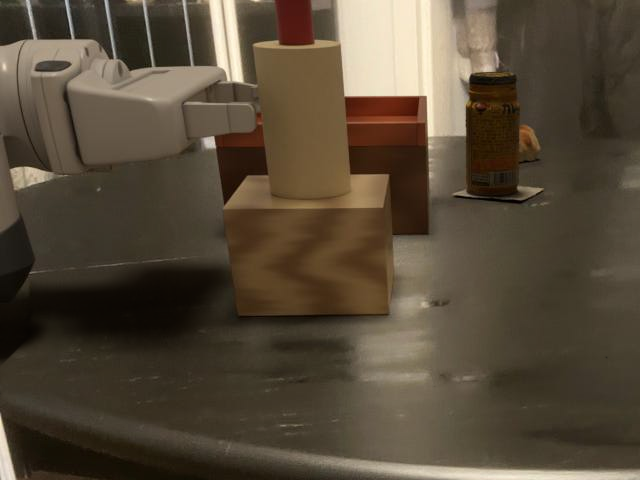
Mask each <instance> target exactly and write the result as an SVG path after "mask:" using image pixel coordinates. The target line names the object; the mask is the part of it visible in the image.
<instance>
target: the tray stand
mask: <svg viewBox="0 0 640 480" xmlns="http://www.w3.org/2000/svg"><path fill="white" fill-rule="evenodd" d="M344 96H345V109H346V123H347V136H348V150H349V164H350V175H373V174H389V177H390V196H391V216H392V235H428V234H429V233H430V202H431V201H430V200H431V199H430V198H431V197H430V196H431V192H430V188H431V187H430V161H429V160H430V158H429V123H428V121H429V120H428V96H427V95H354V96H353V95H344ZM257 120H258V125H257V127H256V128H255V130H253V131H252V132H251V133H229V134H223V135H217V136H213V138H214V145H215V146H214V147H215V152H216V159H217V164H218V172H219V179H220V185H221V186H220V187H221V194H222V200H223V207H224V206H225V205H226V203H227V202H228V201H229V199H230V198H231V197H232V195H233V194H234V193H235V191H236V190H237V189H238V187H239V186H240V185H241V184H242V182H243V181H244V180H245V178H246V177H247V176H261V175H268V168H267V160H266V152H265V143H264V135H263V126H262V118H261V113H257Z"/></svg>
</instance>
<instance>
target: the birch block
mask: <svg viewBox="0 0 640 480" xmlns="http://www.w3.org/2000/svg"><path fill="white" fill-rule="evenodd" d="M350 177H351V191H350V192H348V193H346V194H343V195H340V196H336V197H330V198H322V199H290V198H283V197H278V196H275V195H273V194H272V193H271V192H270V185H269V177H268V175H261V176H247V177H246V178H245V180H244V181H243V182H242V184H241V185H240V186H239V187H238V189H237V190H236V191H235V193H234V194H233V195H232V197H231V198H230V199H229V201H228V202H227V203H226V205H225V206H224V205H223V207H222V209H221V211H222V217H223V223H224V224H223V225H224V231H225V238H226V245H227V251H228V257H229V258H228V259H229V264H230V271H231V278H232V279H231V280H232V286H233V293H234V298H235V305H236V312H237V316H238V317H264V316H265V317H268V316H272V317H275V316H276V317H277V316H278V317H279V316H344V315H345V316H347V315H348V316H349V315H353V316H355V315H389V314H390V312H391V311H390V309H391V302H392V293H393V286H394V278H395V277H394V276H395V257H394V236H393V235H394V234H392V216H391V196H390V177H389V174H373V175H350Z"/></svg>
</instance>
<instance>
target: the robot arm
mask: <svg viewBox="0 0 640 480" xmlns="http://www.w3.org/2000/svg"><path fill="white" fill-rule="evenodd" d="M257 113H261V110H260V101H259V93H258V84H252V83H246V82H242V81H237V80H228V76H227V72H226V70H225V68H223V67H220V66H213V65H191V66H190V65H186V66H182V65H181V66H152V67H144V68H138V69H132V70H130V69H129V68H128V66H127V65H126V64H125V62H123V60H121V59H118V58H117V59H115V58H114V59H113V58H112V59H110V58H109V56H108V54H107V52H106V50H105V49H104V47H102V45H101V44H100V43H99V42H97V40H95V39H23V40H19V41H16V42H13V43H10V44H5V45H0V305H2V304H8V303H10V302H12V300H13V299H15V297H16V295H18V293H19V292H20V290H21V289H22V287H23V286H24V285H25V282H26V281H27V279H28V278H29V275H30V273H31V272H32V270H33V267H34V265H35V262H36V257H35V253H34V250H33V246H32V243H31V240H30V237H29V234H28V231H27V226H26V223H25V221H24V217H23V213H22V212H21V211H20V210H19V205H18V202H17V201H18V199H17V196H16V192H15V187H14V183H13V178H12V177H13V176H12V172H11V170H13V169H16V168H17V169H18V168H32V169H36V170H40V171H42V172H46V173H53V174H54V175H57V176H79V175H82V174H83V175H84V174H85V173H116V172H117V171H119V170H120V169H121V166H122V165H124V164H134V163H144V162H153V161H159V160H165V159H169V158H171V157H175V156H178V155H179V154H181V153H182V152H184V150H185V149H187V148H188V147H190V146H191V145H192V144H194V143H195V142H196V141H197V140H198V139H204V138H211V137H214V136H217V135H223V134H229V133H251V132H252V131H253V130H255V128H256V127H257V125H258V120H257Z"/></svg>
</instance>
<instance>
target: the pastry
mask: <svg viewBox="0 0 640 480" xmlns="http://www.w3.org/2000/svg"><path fill="white" fill-rule="evenodd" d="M519 127H520V128H519V130H520V131H519V163H524V161H527V162H533V161H535V160H537V159H538V156H539V155H540V154H541V146H540V144H539V139H538V138H537V137H536V134H535V131H534V129H533V128H532V127H530V126H528V125H526V124H520V126H519Z"/></svg>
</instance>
